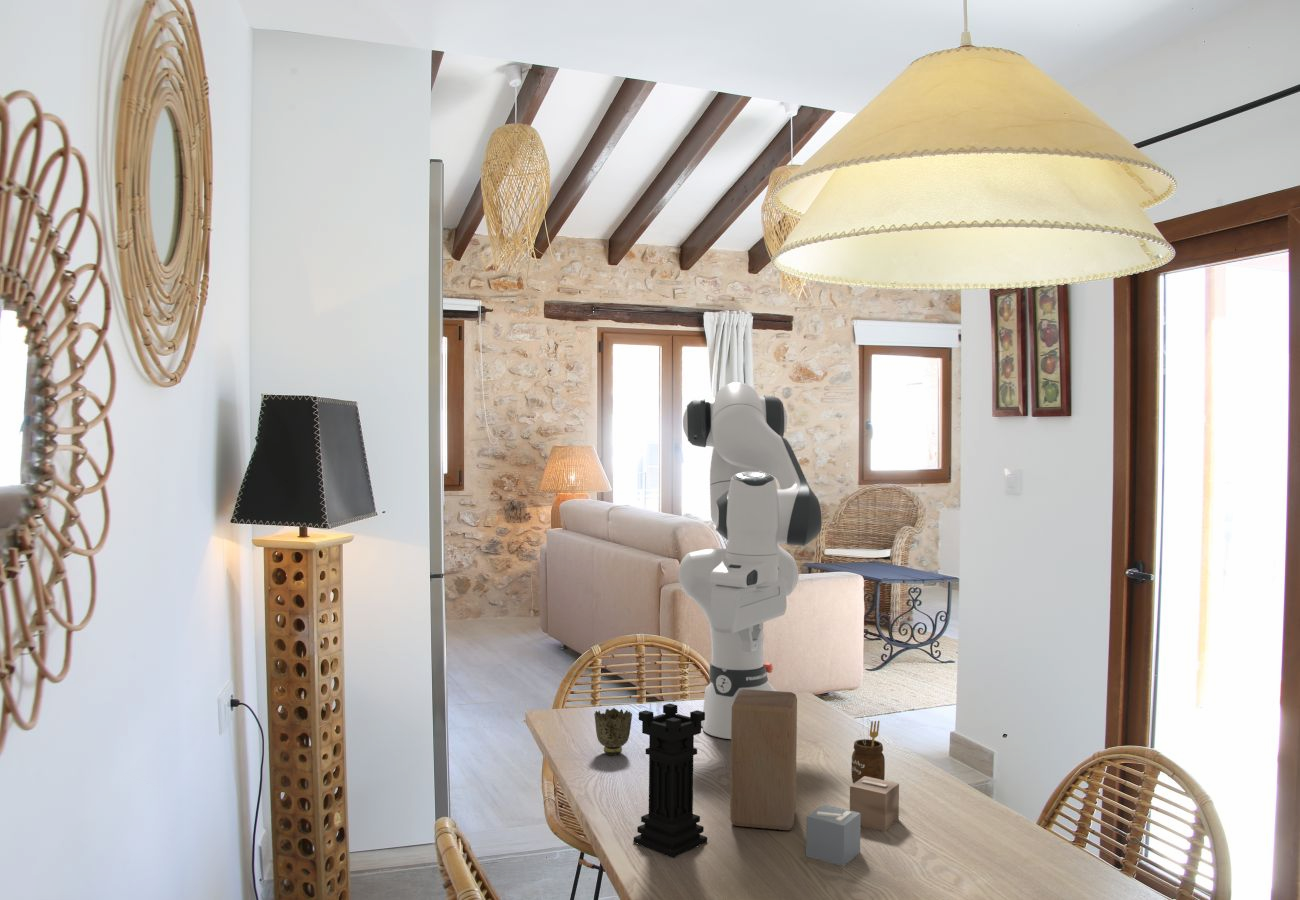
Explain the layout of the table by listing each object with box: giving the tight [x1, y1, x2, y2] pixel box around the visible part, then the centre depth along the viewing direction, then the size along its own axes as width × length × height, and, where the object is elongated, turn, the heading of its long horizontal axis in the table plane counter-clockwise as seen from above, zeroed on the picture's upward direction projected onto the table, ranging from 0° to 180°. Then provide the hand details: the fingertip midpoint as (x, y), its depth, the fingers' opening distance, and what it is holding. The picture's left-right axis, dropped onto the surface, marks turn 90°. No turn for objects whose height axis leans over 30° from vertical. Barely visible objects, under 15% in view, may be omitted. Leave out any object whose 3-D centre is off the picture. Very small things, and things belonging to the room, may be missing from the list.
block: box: [729, 689, 798, 831], centre depth 159 cm, size 10×10×20 cm
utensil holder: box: [850, 717, 886, 783], centre depth 177 cm, size 6×6×12 cm
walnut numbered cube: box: [849, 776, 900, 832], centre depth 159 cm, size 6×6×6 cm
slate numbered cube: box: [805, 804, 861, 867], centre depth 145 cm, size 6×6×6 cm
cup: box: [593, 707, 633, 756], centre depth 192 cm, size 8×7×8 cm
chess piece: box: [633, 703, 708, 859], centre depth 149 cm, size 8×8×20 cm
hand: (750, 650), depth 164 cm, fingers closed
